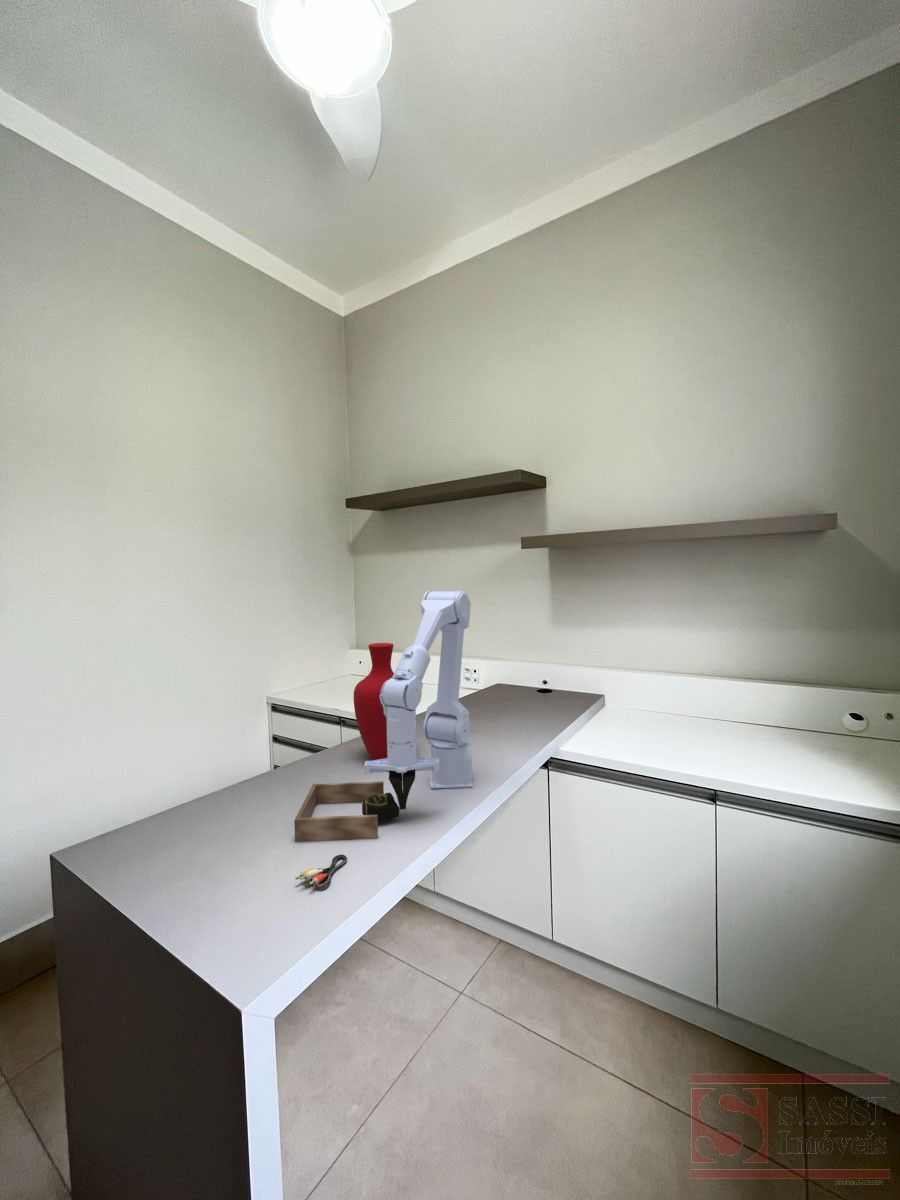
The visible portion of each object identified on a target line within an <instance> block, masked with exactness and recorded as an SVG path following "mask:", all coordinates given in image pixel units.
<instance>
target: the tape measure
mask: <svg viewBox="0 0 900 1200" xmlns="http://www.w3.org/2000/svg"><path fill="white" fill-rule="evenodd" d="M361 803H362V807H361V812H362V815H378V823H384V822H387V821H389V820H394V819H397V818H398V817H399V815H400V807H399V804H397V802H396V800H395V796H394V795H393V793H391V792H385V793H384V794H373V795H370V796H368V797H366V798H365V799H364V801H363V802H361Z"/></svg>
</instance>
